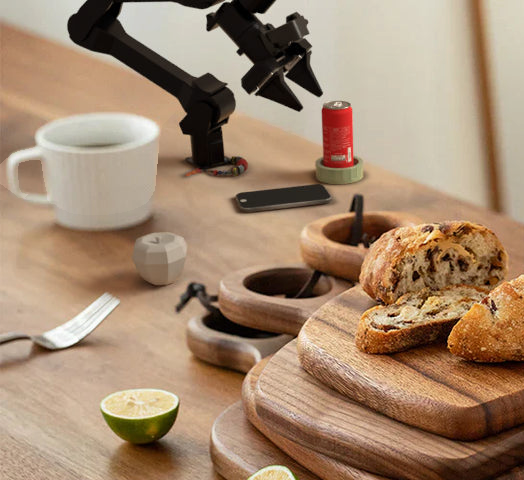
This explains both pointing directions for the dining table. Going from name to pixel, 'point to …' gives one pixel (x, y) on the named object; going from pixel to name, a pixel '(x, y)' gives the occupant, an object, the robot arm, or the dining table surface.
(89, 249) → the dining table surface
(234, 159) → the necklace
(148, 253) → the apple
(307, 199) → the smartphone
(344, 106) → the beverage can
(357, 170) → the ring
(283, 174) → the dining table surface
